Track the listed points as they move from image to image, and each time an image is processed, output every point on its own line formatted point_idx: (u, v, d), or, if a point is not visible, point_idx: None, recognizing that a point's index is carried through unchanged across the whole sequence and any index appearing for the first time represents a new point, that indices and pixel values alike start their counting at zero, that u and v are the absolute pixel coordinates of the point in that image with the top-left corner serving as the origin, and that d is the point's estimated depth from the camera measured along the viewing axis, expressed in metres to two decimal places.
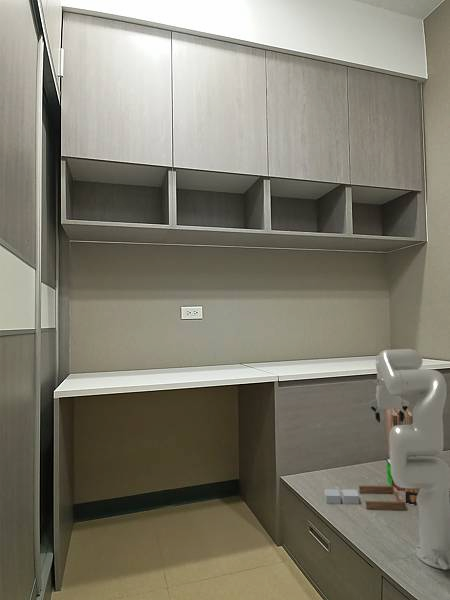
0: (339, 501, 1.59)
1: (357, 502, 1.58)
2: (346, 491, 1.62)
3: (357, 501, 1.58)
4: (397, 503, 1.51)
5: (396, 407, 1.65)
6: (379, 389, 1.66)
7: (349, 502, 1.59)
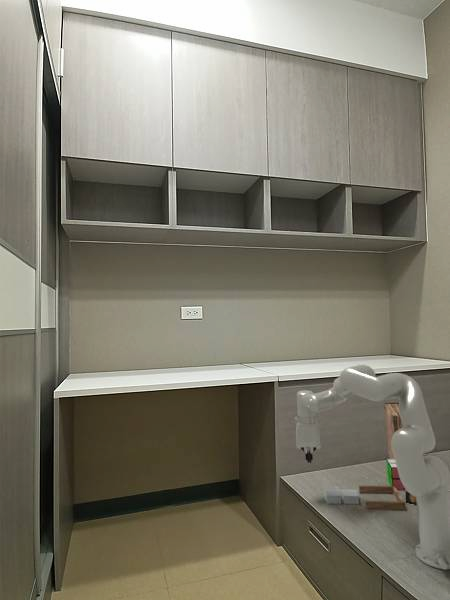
0: (339, 501, 1.59)
1: (357, 502, 1.58)
2: (347, 491, 1.63)
3: (357, 501, 1.58)
4: (397, 503, 1.51)
5: (314, 445, 1.62)
6: (298, 426, 1.64)
7: (349, 502, 1.59)
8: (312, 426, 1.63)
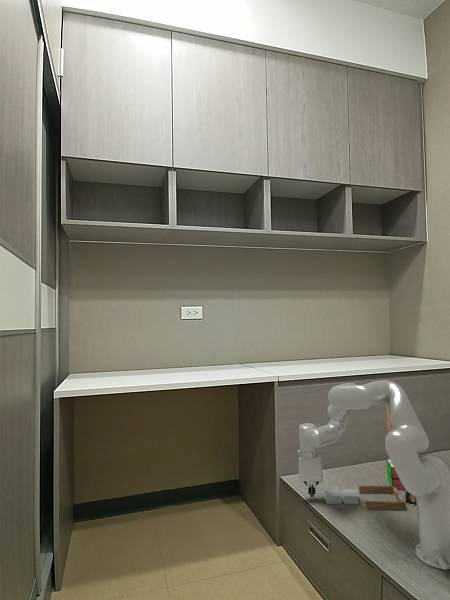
0: (339, 501, 1.59)
1: (357, 502, 1.58)
2: (347, 491, 1.63)
3: (357, 501, 1.58)
4: (397, 503, 1.51)
5: (317, 480, 1.61)
6: (300, 460, 1.63)
7: (348, 502, 1.59)
8: (315, 460, 1.62)
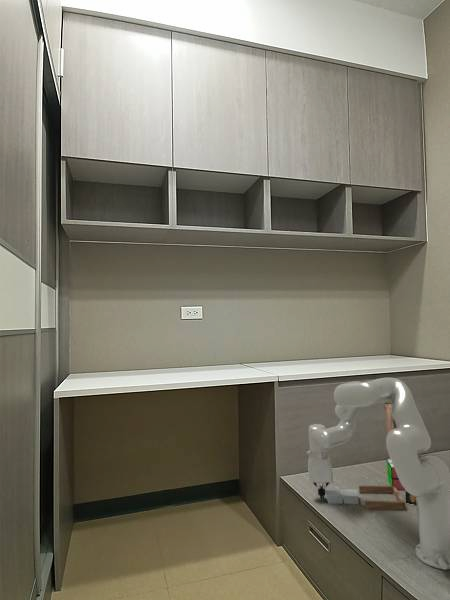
0: (341, 501, 1.59)
1: (356, 502, 1.58)
2: (347, 491, 1.63)
3: (356, 501, 1.58)
4: (397, 503, 1.51)
5: (327, 481, 1.61)
6: (310, 462, 1.62)
7: (348, 502, 1.59)
8: (325, 461, 1.61)
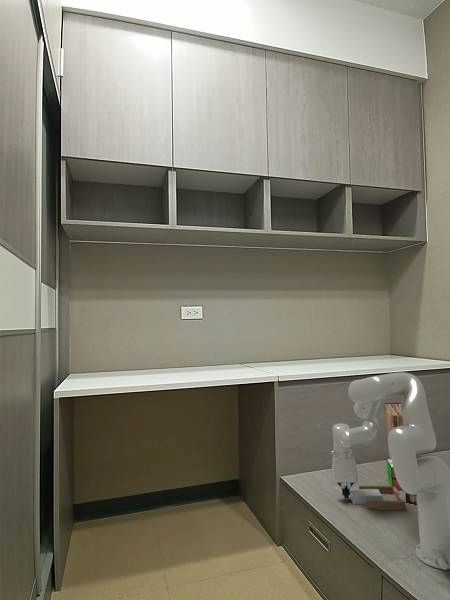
0: (365, 501, 1.57)
1: None
2: (369, 491, 1.61)
3: None
4: (397, 503, 1.51)
5: (352, 481, 1.59)
6: (335, 461, 1.61)
7: None
8: (349, 461, 1.60)
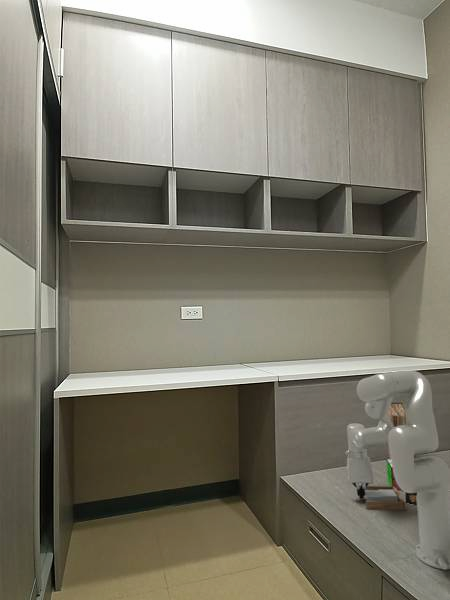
0: None
1: None
2: (384, 491, 1.60)
3: None
4: (397, 503, 1.51)
5: (367, 481, 1.58)
6: (350, 461, 1.60)
7: None
8: (364, 461, 1.59)
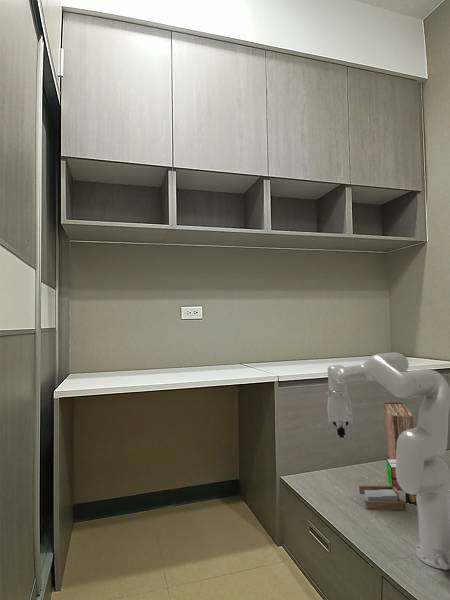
0: None
1: None
2: (384, 491, 1.60)
3: None
4: (397, 503, 1.51)
5: (347, 420, 1.60)
6: (330, 401, 1.62)
7: None
8: (344, 400, 1.61)
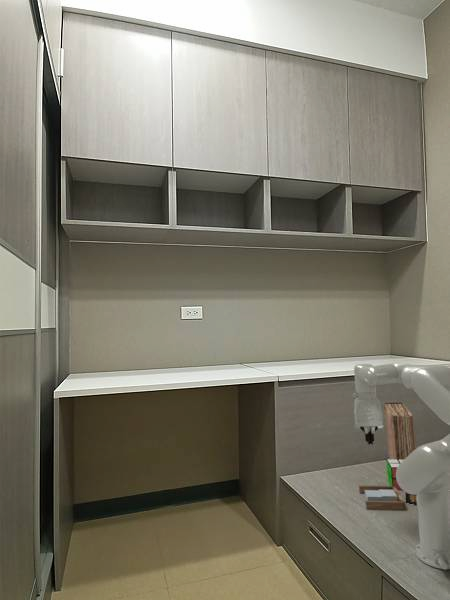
0: None
1: None
2: (384, 491, 1.60)
3: None
4: (397, 503, 1.51)
5: (376, 424, 1.44)
6: (357, 404, 1.46)
7: None
8: (374, 402, 1.45)
